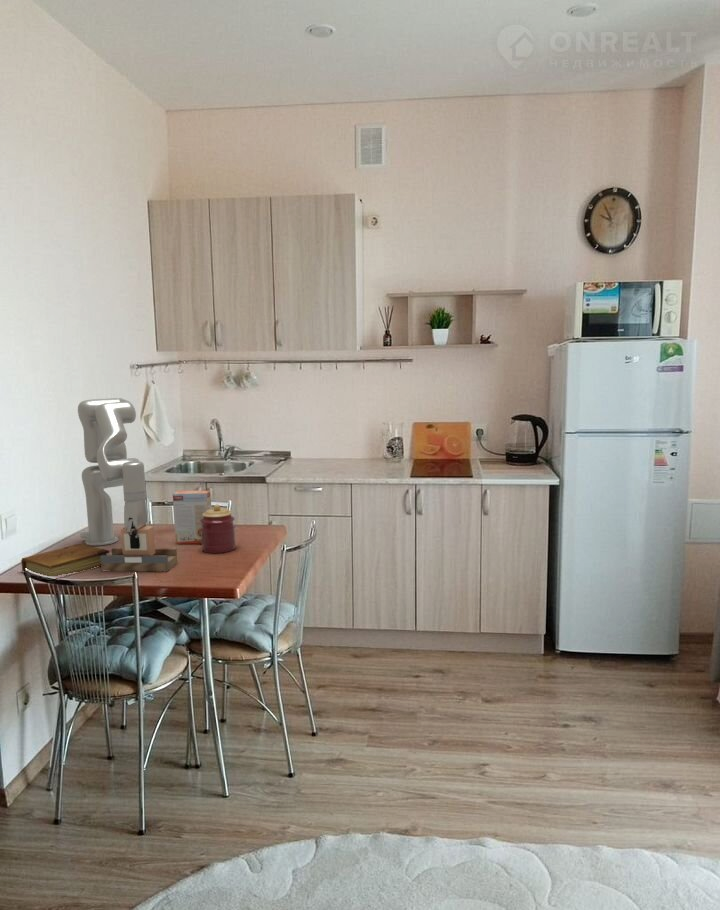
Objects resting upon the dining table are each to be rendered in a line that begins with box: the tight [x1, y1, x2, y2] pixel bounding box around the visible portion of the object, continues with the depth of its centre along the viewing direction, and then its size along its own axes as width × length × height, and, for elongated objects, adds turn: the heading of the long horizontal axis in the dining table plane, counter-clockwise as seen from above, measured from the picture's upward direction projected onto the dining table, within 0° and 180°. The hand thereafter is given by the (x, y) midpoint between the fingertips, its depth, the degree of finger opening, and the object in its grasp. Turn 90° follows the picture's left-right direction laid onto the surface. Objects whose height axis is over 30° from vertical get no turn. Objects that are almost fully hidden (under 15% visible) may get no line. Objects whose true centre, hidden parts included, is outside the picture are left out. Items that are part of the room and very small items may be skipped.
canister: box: [200, 503, 237, 554], centre depth 279 cm, size 13×13×18 cm
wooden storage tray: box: [100, 547, 178, 573], centre depth 258 cm, size 24×11×6 cm, turn 85°
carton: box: [120, 525, 156, 555], centre depth 257 cm, size 5×10×10 cm, turn 85°
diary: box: [20, 543, 110, 576], centre depth 260 cm, size 23×19×6 cm
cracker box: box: [172, 490, 212, 545], centre depth 290 cm, size 14×6×21 cm, turn 84°
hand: (138, 545), depth 257 cm, fingers closed on carton, 5 cm apart
